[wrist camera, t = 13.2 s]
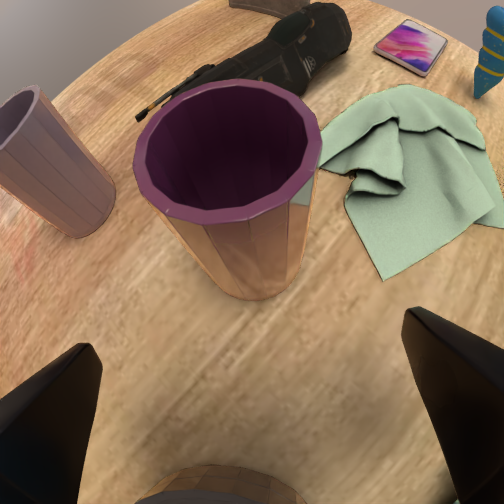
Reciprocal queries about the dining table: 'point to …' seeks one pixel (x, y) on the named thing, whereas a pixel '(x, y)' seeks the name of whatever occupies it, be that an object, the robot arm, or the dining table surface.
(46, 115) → the lavender cup
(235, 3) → the flask
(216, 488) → the charcoal bowl
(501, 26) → the ornament
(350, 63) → the dining table surface
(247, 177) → the plum cup
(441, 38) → the smartphone
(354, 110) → the cloth
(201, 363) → the dining table surface
